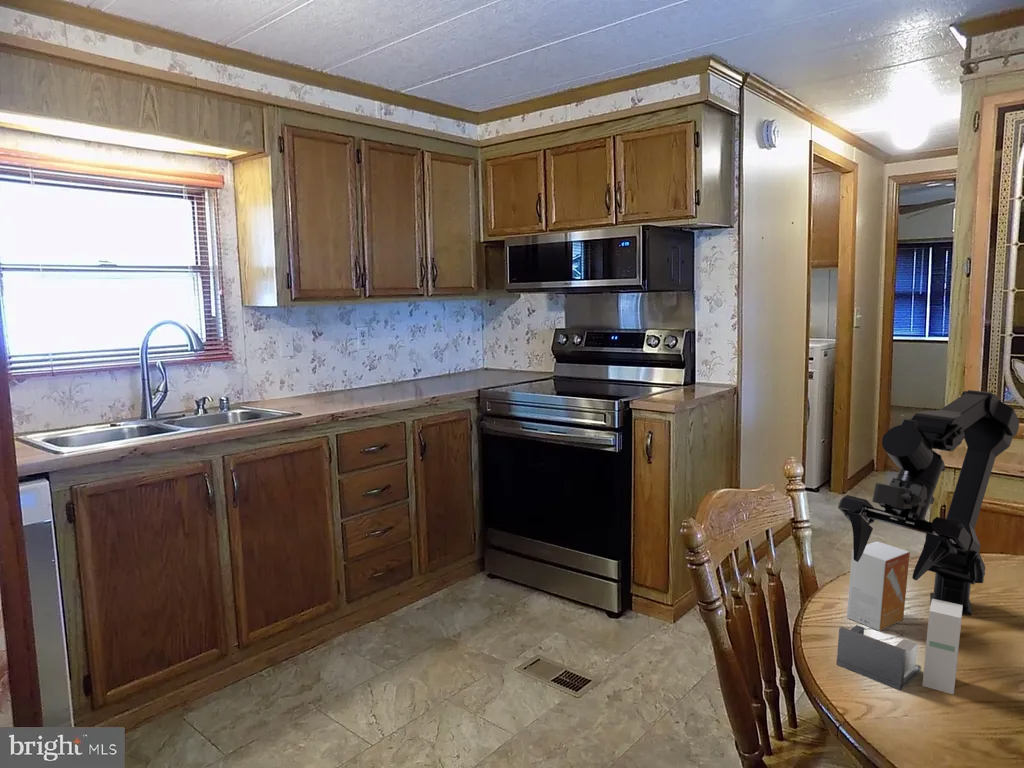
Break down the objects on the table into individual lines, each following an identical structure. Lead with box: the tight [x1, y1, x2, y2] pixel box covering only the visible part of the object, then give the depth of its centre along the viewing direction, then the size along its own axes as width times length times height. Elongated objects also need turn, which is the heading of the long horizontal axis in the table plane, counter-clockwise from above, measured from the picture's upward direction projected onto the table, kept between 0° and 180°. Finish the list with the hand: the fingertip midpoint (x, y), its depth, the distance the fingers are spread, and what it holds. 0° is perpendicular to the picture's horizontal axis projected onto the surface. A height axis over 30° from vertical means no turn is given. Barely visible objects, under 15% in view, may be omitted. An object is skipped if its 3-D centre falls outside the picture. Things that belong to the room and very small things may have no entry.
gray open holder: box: [836, 624, 922, 691], centre depth 111 cm, size 8×10×6 cm
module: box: [921, 599, 963, 695], centre depth 106 cm, size 5×4×12 cm
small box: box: [846, 540, 911, 632], centre depth 126 cm, size 8×6×13 cm
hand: (884, 569), depth 113 cm, fingers open, 9 cm apart
